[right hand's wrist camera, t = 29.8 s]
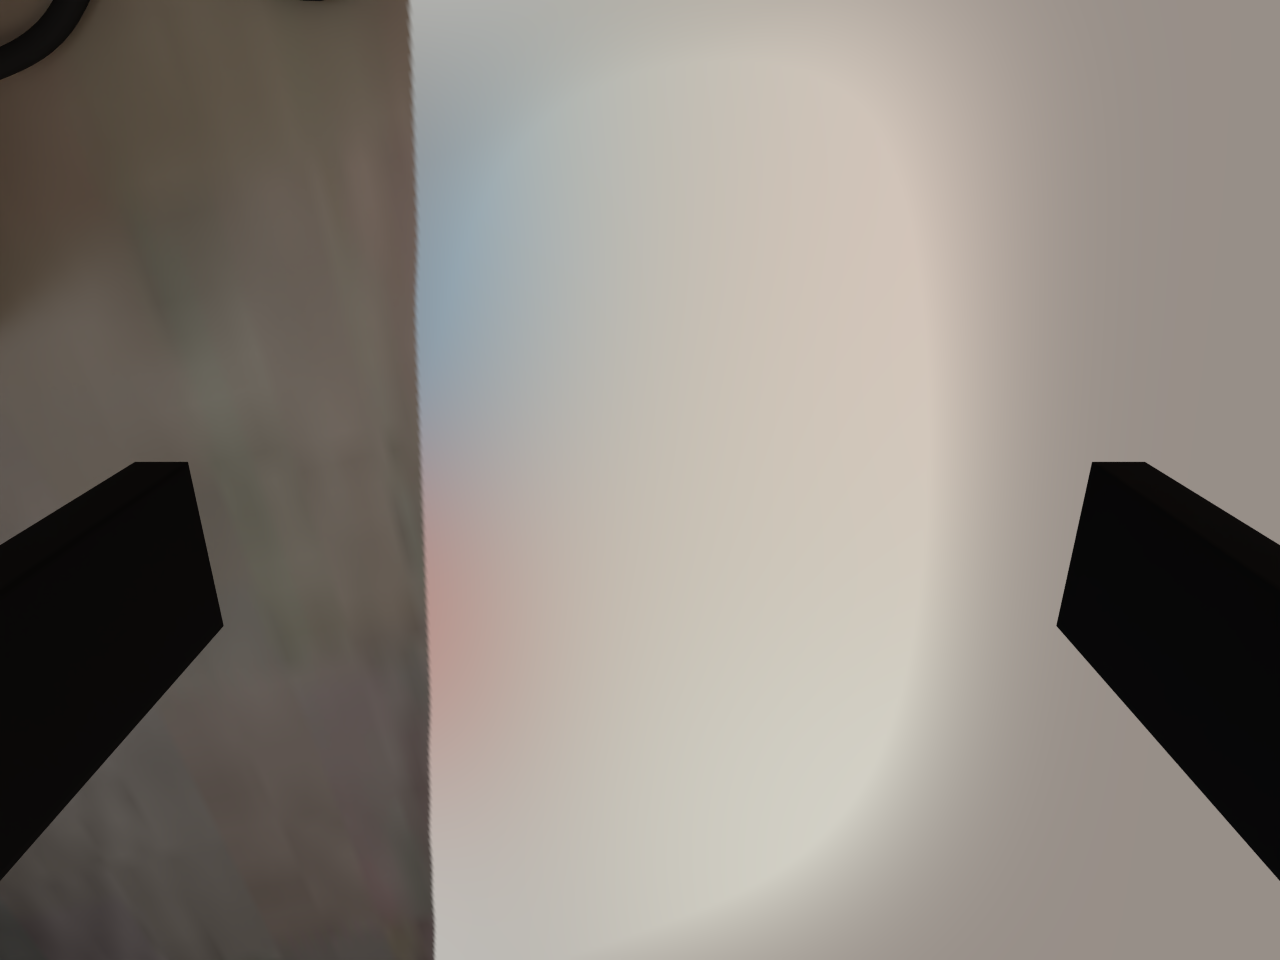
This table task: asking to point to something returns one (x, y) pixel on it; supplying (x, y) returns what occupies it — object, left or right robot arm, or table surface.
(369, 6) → the table surface
